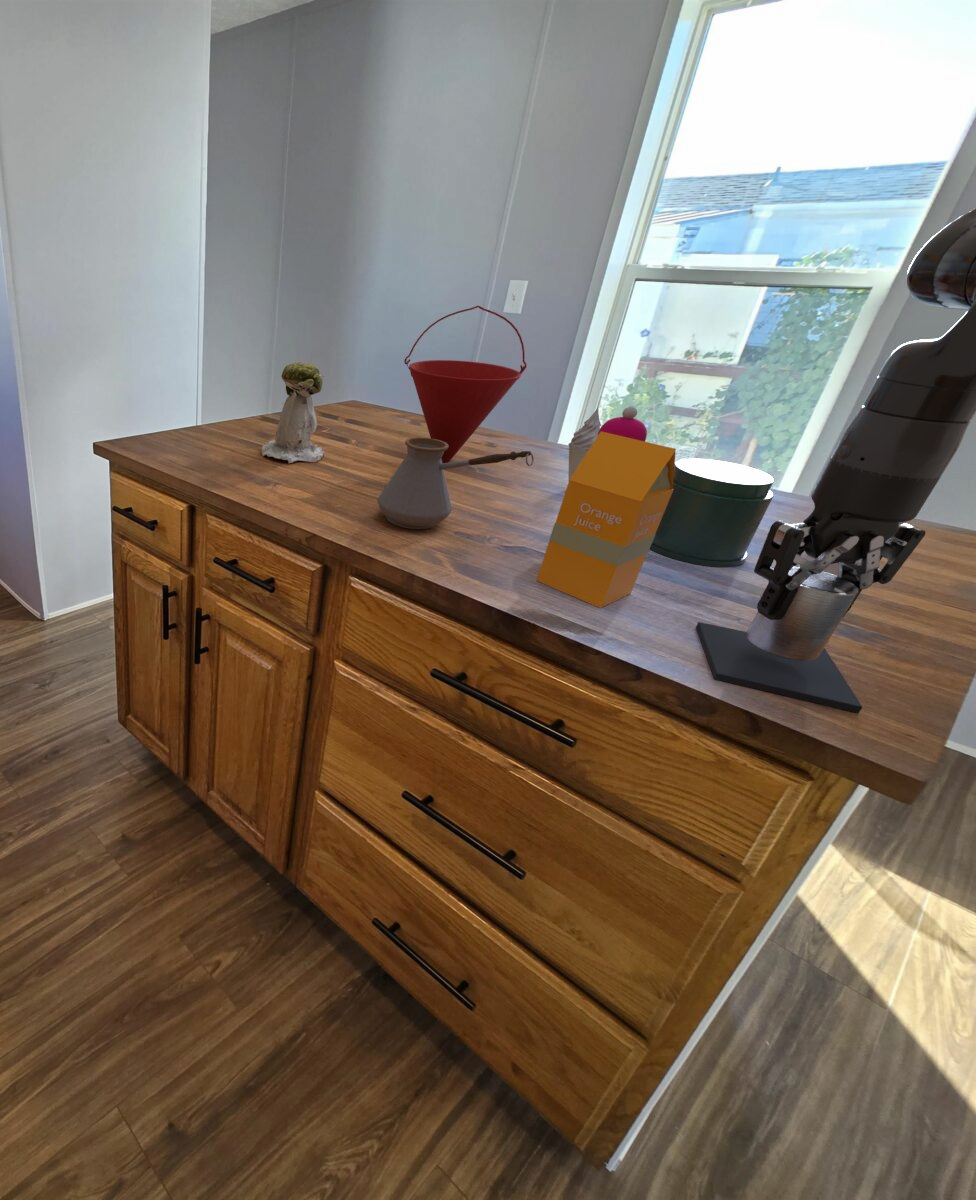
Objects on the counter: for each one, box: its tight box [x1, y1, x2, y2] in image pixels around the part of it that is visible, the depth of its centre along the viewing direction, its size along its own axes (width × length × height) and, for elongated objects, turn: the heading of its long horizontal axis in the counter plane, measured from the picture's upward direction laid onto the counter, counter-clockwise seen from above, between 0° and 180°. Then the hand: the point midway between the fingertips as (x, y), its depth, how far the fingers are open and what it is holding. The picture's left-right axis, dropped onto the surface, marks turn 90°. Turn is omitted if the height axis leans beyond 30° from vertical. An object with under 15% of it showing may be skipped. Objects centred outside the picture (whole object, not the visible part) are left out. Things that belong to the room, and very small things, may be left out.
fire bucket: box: [403, 305, 528, 463], centre depth 124 cm, size 22×20×30 cm
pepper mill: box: [597, 406, 648, 442], centre depth 98 cm, size 7×7×20 cm
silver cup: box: [746, 566, 858, 661], centre depth 69 cm, size 6×6×8 cm
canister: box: [649, 458, 775, 568], centre depth 97 cm, size 14×14×12 cm
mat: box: [695, 621, 863, 714], centre depth 72 cm, size 12×12×1 cm
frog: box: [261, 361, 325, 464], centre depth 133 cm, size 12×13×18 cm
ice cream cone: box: [567, 407, 602, 484], centre depth 118 cm, size 5×5×15 cm
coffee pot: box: [377, 437, 535, 530], centre depth 100 cm, size 21×12×15 cm, turn 44°
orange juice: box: [536, 432, 677, 609], centre depth 83 cm, size 8×9×20 cm
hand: (798, 615), depth 69 cm, fingers closed on silver cup, 6 cm apart
